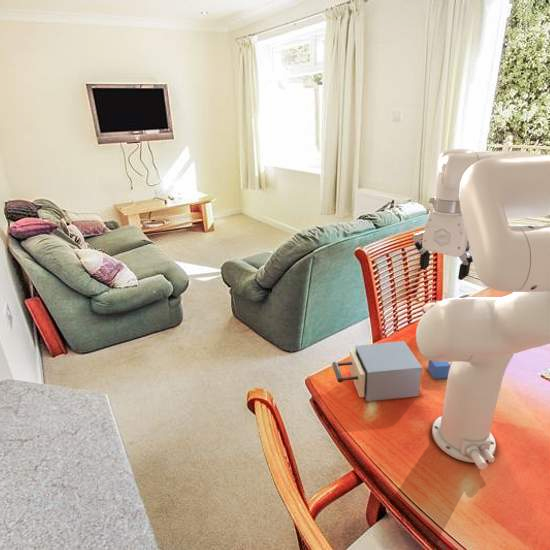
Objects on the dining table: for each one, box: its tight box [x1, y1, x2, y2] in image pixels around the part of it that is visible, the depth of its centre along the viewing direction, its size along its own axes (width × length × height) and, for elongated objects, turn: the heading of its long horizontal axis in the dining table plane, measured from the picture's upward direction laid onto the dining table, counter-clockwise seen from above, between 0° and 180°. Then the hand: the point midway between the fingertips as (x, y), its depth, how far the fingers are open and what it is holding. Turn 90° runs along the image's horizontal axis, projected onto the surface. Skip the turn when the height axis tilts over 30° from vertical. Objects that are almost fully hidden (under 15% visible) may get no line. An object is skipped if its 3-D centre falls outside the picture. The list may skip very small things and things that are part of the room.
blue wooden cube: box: [427, 359, 451, 380], centre depth 102 cm, size 4×4×4 cm
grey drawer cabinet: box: [354, 340, 423, 402], centre depth 99 cm, size 14×12×9 cm
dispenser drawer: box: [331, 349, 367, 398], centre depth 99 cm, size 18×10×7 cm, turn 94°
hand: (442, 272), depth 94 cm, fingers open, 9 cm apart
